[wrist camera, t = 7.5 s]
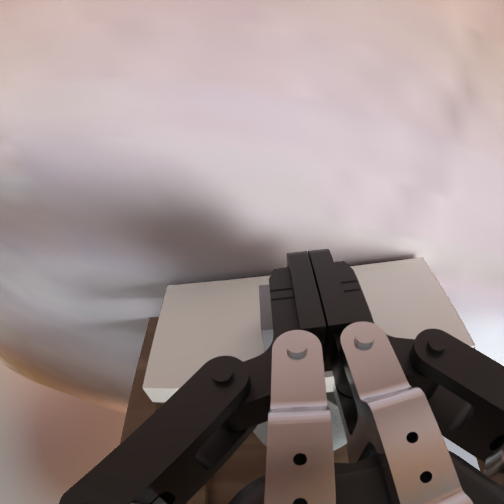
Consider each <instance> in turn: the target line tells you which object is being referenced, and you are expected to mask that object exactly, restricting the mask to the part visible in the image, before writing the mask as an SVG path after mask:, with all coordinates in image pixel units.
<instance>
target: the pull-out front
mask: <svg viewBox="0 0 504 504" xmlns="http://www.w3.org/2000/svg"><path fill="white" fill-rule="evenodd" d="M350 267H351V268H352V269H353V270H354V272H355V275H356V277H357V280H358V282H359V285H360V287H361V291H362V292H363V295H364V297H365V300H366V302H367V305H368V308H369V310H370V313H371V316H372V318H373V321H374V323H375V324H376V325H378V326H379V327H381V328H382V329H383V330H384V332H385V333H386V334H387V335H389V336H392V337H397V338H406V339H415V338H416V337H417V335H418V334H419V333H420V332H422V331H424V330H426V329H440V330H443V331H445V332H447V333H448V334H450V335H452V336H453V337H455V338H457V339H459V340H460V341H462V342H464V343H465V344H467V345H469V346H470V347H472V348H474V346H475V344H474V342H473V340H472V338H471V336H470V334H469V333H468V331H467V329H466V327H465V325H464V324H463V322H462V320H461V318H460V317H459V315H458V313H457V311H456V310H455V308H454V306H453V304H452V303H451V301H450V299H449V298H448V296H447V294H446V293H445V291H444V290H443V288H442V286H441V285H440V283H439V282H438V280H437V278H436V277H435V275H434V274H433V272H432V271H431V269H430V268H429V266H428V264H427V263H426V261H425V260H424V258H423V257H421V258H413V259H406V260H398V261H390V262H382V263H374V264H366V265H358V266H350ZM270 276H271V275H270ZM270 276H260V277H251V278H241V279H231V280H221V281H210V282H199V283H189V284H178V285H167V289H166V293H165V296H164V300H163V304H162V308H161V312H160V315H159V319H158V323H157V327H156V331H155V335H154V339H153V343H152V348H151V352H150V356H149V360H148V365H147V369H146V374H145V378H144V383H143V387H142V388H143V389H144V391H145V392H146V394H147V395H148V396H149V398H150V399H151V401H152V402H166V401H167V400H168V399H169V398H170V397H171V396H172V395H173V394H174V393H175V392H176V391H177V390H178V389H179V388H180V387H182V386H183V385H184V384H185V383H186V382H187V381H188V380H189V379H190V378H191V377H192V376H193V375H194V374H195V373H196V372H197V371H198V370H199V369H200V368H201V367H202V366H203V365H204V364H205V363H206V362H207V361H209V360H211V359H213V358H215V357H219V356H233V357H236V358H238V359H240V360H241V361H243V362H244V361H247V360H249V359H252V358H255V357H257V356H259V355H261V354H262V353H264V352H265V351H266V350H267V349H268V348H269V347H270V345H271V343H272V341H273V322H272V311H271V299H270V288H269V278H270ZM324 374H325V385H326V392H333V386H334V376H333V371H326V372H324Z"/></svg>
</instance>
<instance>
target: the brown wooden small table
mask: <svg viewBox="0 0 504 504" xmlns="http://www.w3.org/2000/svg"><path fill="white" fill-rule="evenodd" d="M158 319H159V318H150V321H149V324H148V328H147V332H146V335H145V339H144V343H143V347H142V350H141V354H140V358H139V362H138V366H137V370H136V374H135V378H134V382H133V387H132V391H131V395H130V400H129V404H128V409H127V413H126V418H125V423H124V427H123V432H122V437H121V442H120V444H121V443H122V442H123V441H124V440H125V439H126V438H128V437H129V436H130V435H131V434H132V433H133V432H134V431H135V430H136V429H137V428H138V427H139V426H140V425H142V424H143V423H144V422H145V421H146V420H147V419H148V418H149V417H150V416H151V415H152V414H153V413H154V412H155V411H156V410H158V409H159V408H160V407H161V406H162V405H163V404H164V403H165V402H152V401H151V399H150V398H149V396H148V395H147V394H146V392H145V391H144V389H143V388H142V387H143V383H144V378H145V374H146V369H147V365H148V360H149V356H150V352H151V348H152V343H153V339H154V335H155V331H156V327H157V323H158ZM474 349H475V348H474ZM333 452H334V463H349V460H348V454H347V444H345V445H344V446H342V447H340V448H338V449H336V450H334V451H333ZM266 455H267V447H265V446H264V445H263V444H262V443H261V442H260V440H259V439H258V438H257V437H256V435H255V434H254V433H253V432H252V433H251V434H250V435H249V436H248V438H247V439H246V440H245V441H244V442H243V443H242V445H241V446H240V447H239V448H238V449H237V450H236V451H235V452H234V454H233V455H232V456H231V457H230V458H229V459H228V460H227V461H226V462H225V464H224V465H223V466H222V467H221V468H220V469H219V470H218V471H217V472H216V473H215V474H214V475H213V477H212V478H211V479H210V480H209V481H208V482H207V483H206V484H205V485H204V486H203V487H202V488H201V489H200V490H199V491H198V492H197V493H196V494H195V495H194V496H193V497H192V498H191V499H190V500H189V501H188V502H187V503H186V504H228V503H229V502H230V501H231V500H232V498H233V497H234V496H235V495H236V494H237V493H238V492H239V491H240V490H241V489H243V488H244V487H245V486H247V485H248V484H249V483H251V482H252V481H254V480H256V479H258V478H260V477H262V476H265V475H266ZM476 458H477V457H476ZM477 461H478V465H479V468H480V471H481V472H482V473H483V474H484V470H485V462H483V461H481V460H480V459H478V458H477Z"/></svg>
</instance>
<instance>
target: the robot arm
mask: <svg viewBox="0 0 504 504" xmlns="http://www.w3.org/2000/svg"><path fill="white" fill-rule="evenodd" d="M287 267H288V268H279V269H274V270H273V272H272V274H271V276H270V278H269V288H270V299H271V311H272V322H273V341H272V343H271V345H270V347H269V348H268V349H267V350H266V351H265V352H264V353H262V354H261V355H259V356H257V357H255V358H252V359H249V360H247V361H244V362H243V361H241V360H240V359H238V358H236V357H233V356H219V357H215V358H213V359H211V360H209V361H207V362H206V363H205V364H204V365H203V366H202V367H201V368H200V369H199V370H198V371H197V372H196V373H195V374H194V375H193V376H192V377H191V378H190V379H189V380H188V381H187V382H186V383H185V384H184V385H183V386H182V387H180V388H179V389H178V390H177V391H176V392H175V393H174V394H173V395H172V396H171V397H170V398H169V399H168V400H167V401H166V402H165V403H164V404H163V405H162V406H161V407H160V408H159V409H158V410H156V411H155V412H154V413H153V414H152V415H151V416H150V417H149V418H148V419H147V420H146V421H145V422H144V423H143V424H142V425H140V426H139V427H138V428H137V429H136V430H135V431H134V432H133V433H132V434H131V435H130V436H129V437H128V438H126V439H125V440H124V441H123V442H122V443H121V444H120V445H119V446H118V447H117V448H116V449H114V450H113V451H112V452H111V453H110V454H109V455H108V456H107V457H105V458H104V459H103V460H102V461H101V462H100V463H99V464H98V465H97V466H95V467H94V468H93V469H92V470H91V471H90V472H89V473H87V474H86V475H85V476H84V477H83V478H82V479H80V480H79V481H78V482H77V483H76V484H75V485H74V486H73V487H71V488H70V489H69V490H68V491H67V492H66V493H64V494H63V496H62V497H61V500H60V503H59V504H186V503H187V502H188V501H189V500H190V499H191V498H192V497H193V496H194V495H195V494H196V493H197V492H198V491H199V490H200V489H201V488H202V487H203V486H204V485H205V484H206V483H207V482H208V481H209V480H210V479H211V478H212V477H213V475H214V474H215V473H216V472H217V471H218V470H219V469H220V468H221V467H222V466H223V465H224V464H225V462H226V461H227V460H228V459H229V458H230V457H231V456H232V455H233V454H234V452H235V451H236V450H237V449H238V448H239V447H240V446H241V445H242V443H243V442H244V441H245V440H246V439H247V438H248V436H249V435H250V434H251V433H252V432H253V431H254V429H255V428H256V427H257V425H259V424H261V423H264V422H266V421H268V431H267V455H266V475H265V476H262V477H260V478H258V479H256V480H254V481H252V482H251V483H249V484H248V485H247V486H245V487H244V488H243V489H241V490H240V491H239V492H238V493H237V494H236V495H235V496H234V497H233V498H232V500H231V501H230V502H229V503H228V504H504V366H502V365H501V364H499V363H497V362H496V361H494V360H492V359H491V358H489V357H487V356H486V355H484V354H482V353H481V352H479V351H477V350H476V349H474V348H472V347H470V346H469V345H467V344H465V343H464V342H462V341H460V340H459V339H457V338H455V337H453V336H452V335H450V334H448V333H447V332H445V331H443V330H440V329H426V330H424V331H422V332H420V333H419V334H418V335H417V337H416V338H415V339H406V338H397V337H392V336H389V335H387V334H386V333H385V332H384V330H383V329H382V328H381V327H379V326H378V325H376V324H375V323H374V321H373V318H372V316H371V313H370V310H369V308H368V305H367V302H366V300H365V297H364V295H363V292H362V291H361V287H360V285H359V282H358V280H357V277H356V275H355V272H354V270H353V269H352V268H351V267H350V266H349V265H348V264H347V263H346V262H344V261H342V262H333V259H332V256H331V254H330V251H329V249H322V250H313V251H308V252H307V251H304V252H295V253H287ZM326 371H333V376H334V386H333V391H334V395H335V399H336V402H337V406H338V409H339V413H340V416H341V420H342V424H343V427H344V431H345V435H346V439H347V454H348V460H349V463H334V452H333V437H332V424H331V414H330V409H329V408H328V405H327V396H326V385H325V374H324V372H326ZM442 435H443V436H444V437H446V438H447V439H449V440H450V441H452V442H453V443H455V444H456V445H458V446H460V447H461V448H463V449H464V450H466V451H467V452H469V453H470V454H472V455H474V456H475V457H477V458H478V459H480V460H481V461H483V462H485V470H484V474H483V473H482V472H480V471H479V470H478V469H476V468H474V467H473V466H472V465H470V464H469V463H467V462H466V461H465V460H463V459H462V458H460V457H459V456H457V455H456V454H454V453H452V452H450V451H448V449H447V447H446V444H445V441H444V439H443V437H442Z"/></svg>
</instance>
